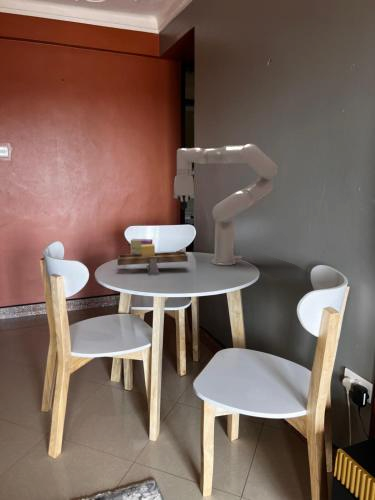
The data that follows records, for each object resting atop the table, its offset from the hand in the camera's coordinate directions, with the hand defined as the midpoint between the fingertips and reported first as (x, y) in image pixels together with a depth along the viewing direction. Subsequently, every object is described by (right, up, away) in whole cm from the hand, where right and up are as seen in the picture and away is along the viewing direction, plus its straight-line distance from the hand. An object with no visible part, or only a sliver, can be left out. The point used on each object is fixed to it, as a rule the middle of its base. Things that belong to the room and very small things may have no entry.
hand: (183, 209), depth 196 cm
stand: (-15, -31, -17) cm, 38 cm away
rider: (-16, -25, -19) cm, 35 cm away
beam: (-14, -26, -18) cm, 35 cm away
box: (-22, -28, 0) cm, 35 cm away
